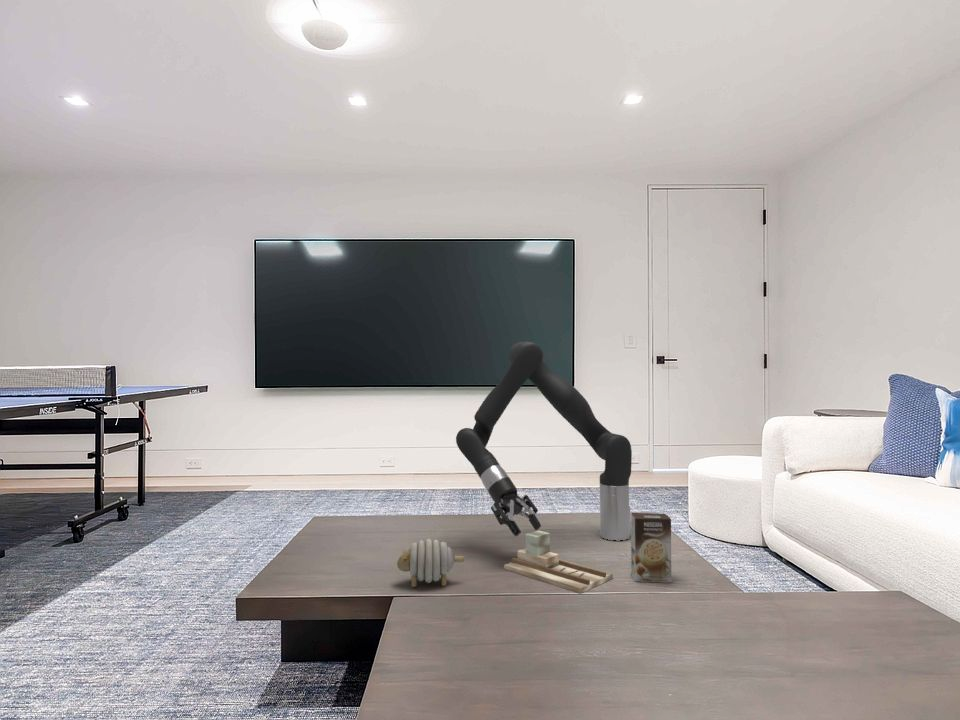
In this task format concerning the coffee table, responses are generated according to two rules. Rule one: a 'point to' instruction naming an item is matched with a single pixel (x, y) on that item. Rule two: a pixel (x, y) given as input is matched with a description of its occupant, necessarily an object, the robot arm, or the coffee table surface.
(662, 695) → the coffee table surface
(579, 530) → the coffee table surface
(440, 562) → the toy sheep
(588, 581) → the birch plank
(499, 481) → the robot arm
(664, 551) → the coffee box
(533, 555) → the block
